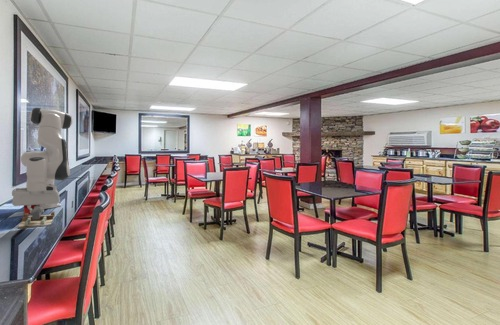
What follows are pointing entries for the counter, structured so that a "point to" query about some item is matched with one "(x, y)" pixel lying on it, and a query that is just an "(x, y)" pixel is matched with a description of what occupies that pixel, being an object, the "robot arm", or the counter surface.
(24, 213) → the canned food
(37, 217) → the bar
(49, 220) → the lock board
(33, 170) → the robot arm
